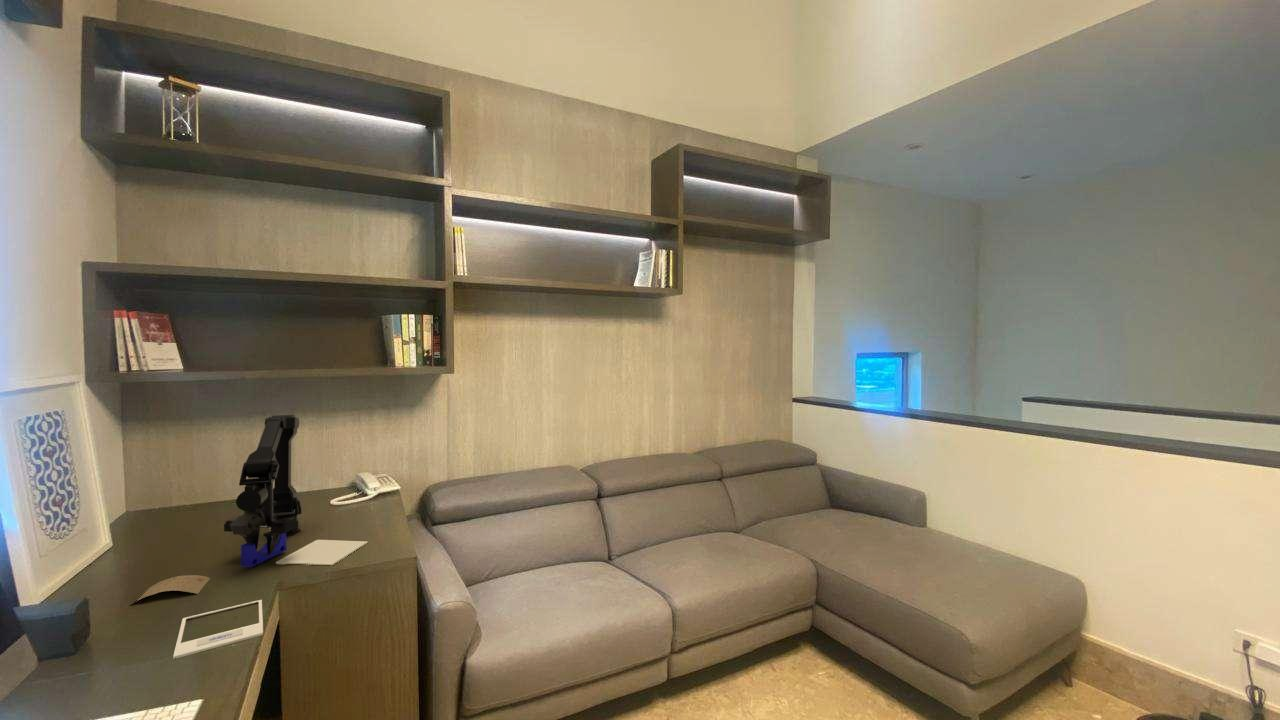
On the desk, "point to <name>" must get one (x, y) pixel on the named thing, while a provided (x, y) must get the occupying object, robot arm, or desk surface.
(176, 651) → the photo frame
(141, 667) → the desk surface
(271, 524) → the robot arm
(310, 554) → the desk mat
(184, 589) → the brown curved sheet
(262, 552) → the cable clip
